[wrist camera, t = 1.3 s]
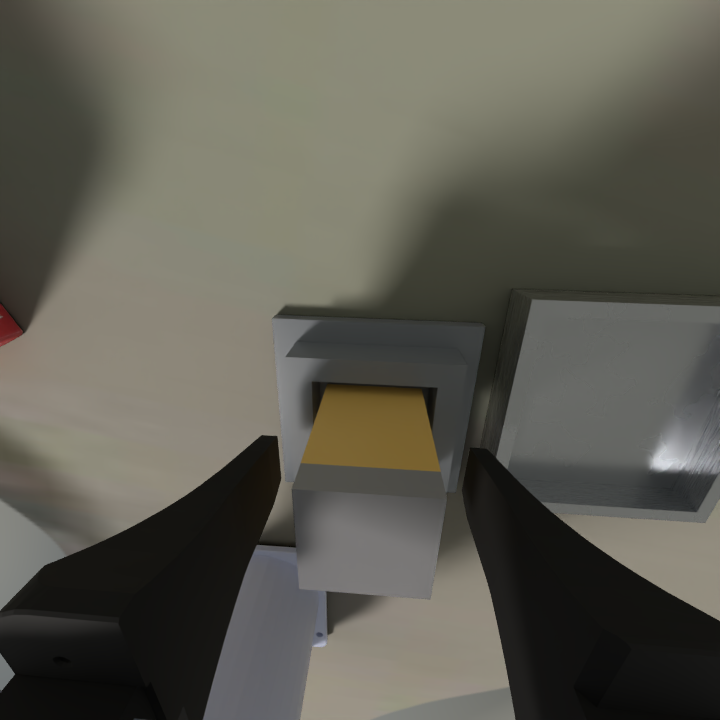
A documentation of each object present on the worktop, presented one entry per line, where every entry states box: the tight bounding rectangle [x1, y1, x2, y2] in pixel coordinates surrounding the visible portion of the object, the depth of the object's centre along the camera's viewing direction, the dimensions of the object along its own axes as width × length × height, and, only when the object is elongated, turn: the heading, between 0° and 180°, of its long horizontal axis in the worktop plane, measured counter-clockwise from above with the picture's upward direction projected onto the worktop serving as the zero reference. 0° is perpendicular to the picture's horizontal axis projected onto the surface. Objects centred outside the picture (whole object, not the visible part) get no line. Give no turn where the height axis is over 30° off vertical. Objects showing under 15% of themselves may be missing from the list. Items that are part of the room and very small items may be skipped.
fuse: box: [292, 382, 447, 599], centre depth 13 cm, size 4×4×7 cm
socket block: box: [272, 315, 485, 494], centre depth 15 cm, size 9×9×2 cm
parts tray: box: [480, 289, 720, 523], centre depth 14 cm, size 10×10×2 cm
